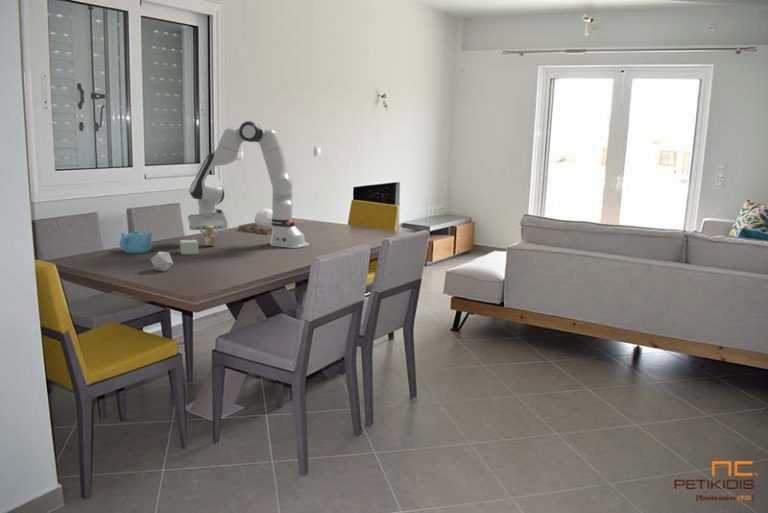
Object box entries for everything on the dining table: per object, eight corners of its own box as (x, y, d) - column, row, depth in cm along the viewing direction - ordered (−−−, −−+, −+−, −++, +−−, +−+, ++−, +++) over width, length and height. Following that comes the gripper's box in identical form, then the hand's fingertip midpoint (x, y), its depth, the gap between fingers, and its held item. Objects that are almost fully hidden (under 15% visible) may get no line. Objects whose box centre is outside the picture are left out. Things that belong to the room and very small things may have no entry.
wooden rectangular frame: (293, 229, 411) (293, 225, 410) (268, 234, 391) (268, 229, 390) (263, 225, 423) (263, 221, 422) (238, 230, 402) (238, 225, 402)
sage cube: (196, 251, 335) (195, 239, 334) (198, 254, 328) (198, 242, 327) (180, 251, 332) (179, 240, 331) (182, 254, 325) (181, 243, 324)
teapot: (121, 248, 334) (120, 228, 332) (152, 248, 338) (152, 227, 336) (119, 254, 320) (118, 233, 317) (151, 253, 324) (151, 232, 322)
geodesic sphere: (252, 218, 413) (254, 202, 403) (275, 217, 418) (277, 202, 407) (254, 235, 404) (256, 219, 394) (277, 234, 408) (279, 219, 398)
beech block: (213, 243, 352) (213, 225, 350) (214, 245, 347) (214, 226, 345) (205, 244, 350) (204, 225, 348) (205, 245, 346) (205, 227, 344)
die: (177, 271, 293) (172, 251, 296) (169, 265, 284) (164, 245, 287) (159, 277, 292) (154, 257, 296) (151, 271, 284) (146, 251, 287)
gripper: (187, 211, 348) (189, 232, 341) (226, 210, 355) (229, 230, 348) (187, 218, 353) (189, 239, 346) (225, 217, 360) (228, 237, 353)
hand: (209, 235), depth 347 cm, fingers closed on beech block, 4 cm apart
